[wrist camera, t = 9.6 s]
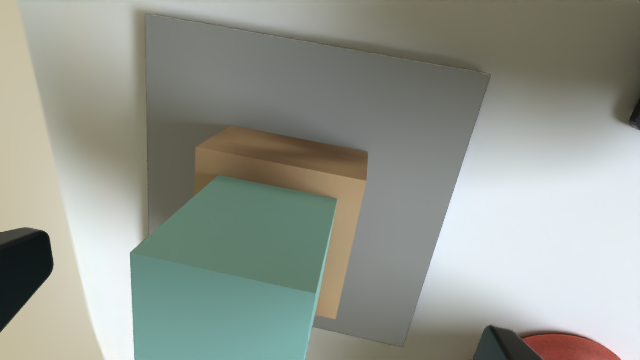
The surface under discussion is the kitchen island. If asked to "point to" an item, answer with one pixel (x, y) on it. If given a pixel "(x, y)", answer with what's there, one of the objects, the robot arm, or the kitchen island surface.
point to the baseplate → (325, 127)
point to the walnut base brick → (295, 185)
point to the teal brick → (232, 275)
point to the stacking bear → (568, 348)
